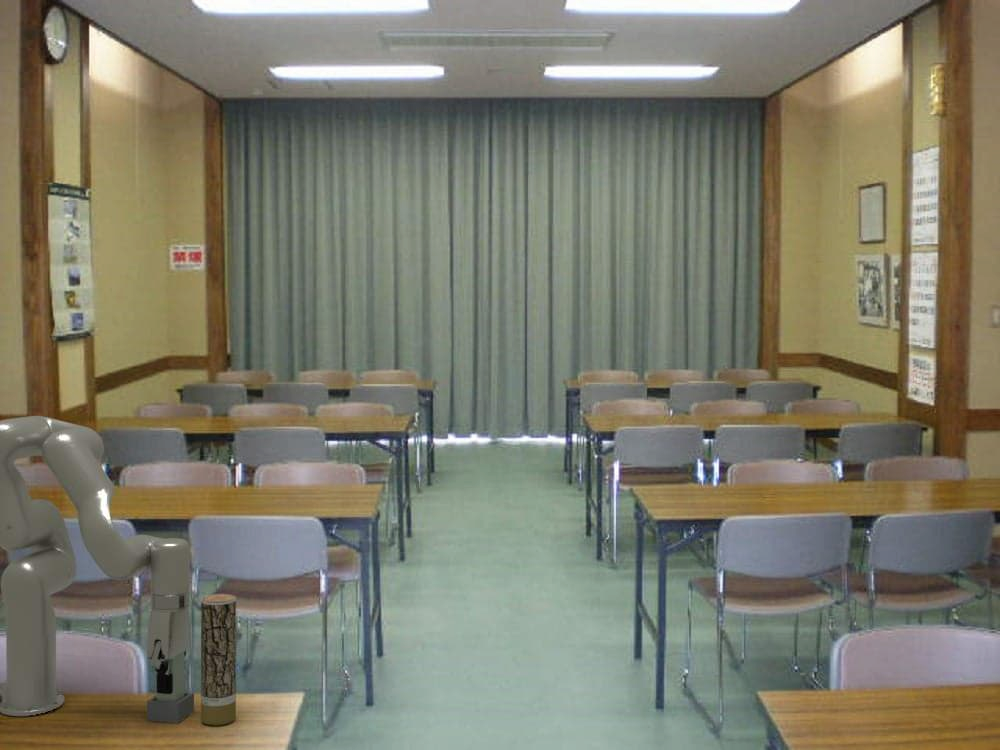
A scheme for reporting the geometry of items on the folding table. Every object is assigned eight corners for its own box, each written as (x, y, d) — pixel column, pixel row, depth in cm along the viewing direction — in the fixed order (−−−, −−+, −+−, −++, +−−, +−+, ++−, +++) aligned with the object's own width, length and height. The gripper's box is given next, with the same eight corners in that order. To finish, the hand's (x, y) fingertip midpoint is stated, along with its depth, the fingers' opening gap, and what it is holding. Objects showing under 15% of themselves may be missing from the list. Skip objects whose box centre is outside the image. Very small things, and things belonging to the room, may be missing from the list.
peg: (156, 712, 223) (156, 653, 223) (166, 705, 227) (166, 647, 227) (174, 713, 223) (174, 654, 222) (184, 706, 227) (184, 649, 226)
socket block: (146, 720, 222) (146, 701, 222) (163, 709, 229) (163, 690, 229) (177, 723, 221) (177, 704, 221) (193, 712, 228) (193, 692, 228)
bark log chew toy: (226, 728, 219) (227, 603, 218) (195, 725, 220) (195, 601, 219) (241, 716, 226) (241, 595, 224) (210, 713, 227) (210, 593, 226)
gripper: (173, 589, 233) (173, 675, 234) (131, 609, 217) (131, 701, 217) (206, 591, 231) (206, 678, 232) (167, 612, 215) (167, 704, 216)
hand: (170, 688), depth 225 cm, fingers closed on peg, 3 cm apart
